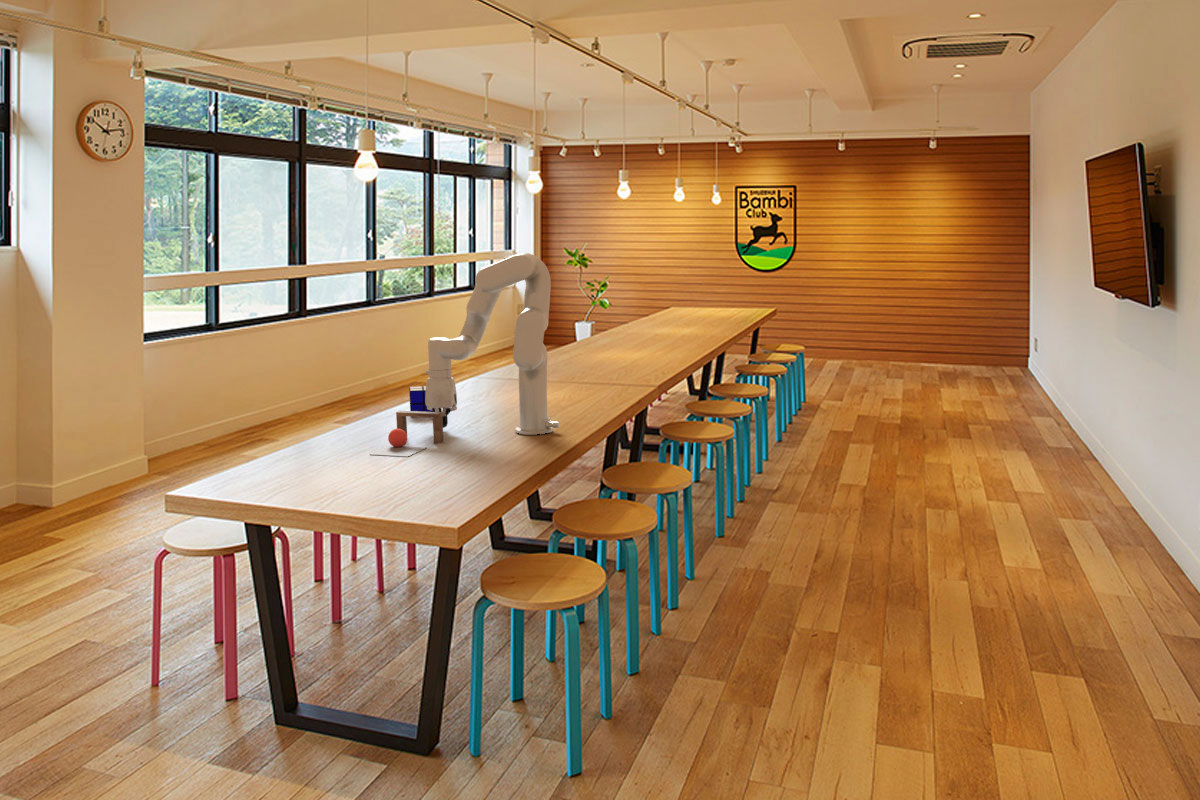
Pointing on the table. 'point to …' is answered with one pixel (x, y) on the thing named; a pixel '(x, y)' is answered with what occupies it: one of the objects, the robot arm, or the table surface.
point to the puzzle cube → (418, 399)
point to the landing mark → (398, 451)
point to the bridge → (436, 416)
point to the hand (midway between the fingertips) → (442, 426)
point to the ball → (397, 437)
